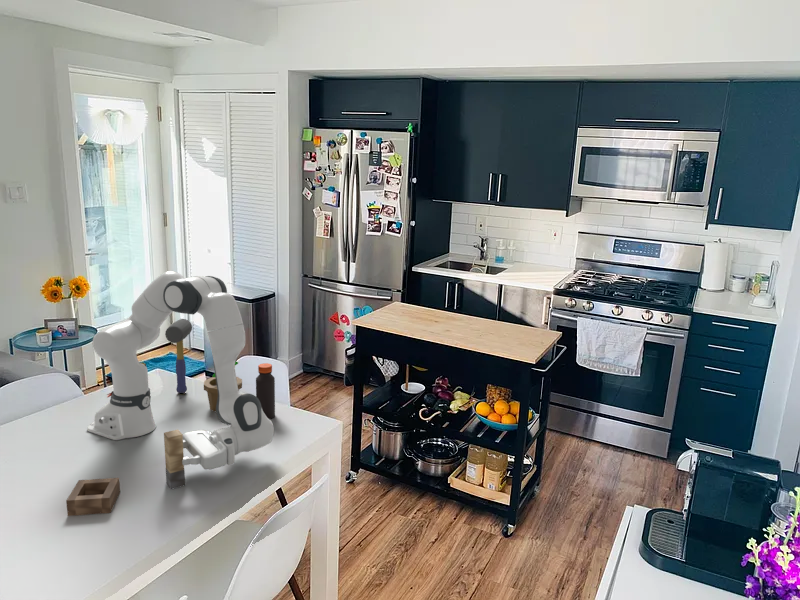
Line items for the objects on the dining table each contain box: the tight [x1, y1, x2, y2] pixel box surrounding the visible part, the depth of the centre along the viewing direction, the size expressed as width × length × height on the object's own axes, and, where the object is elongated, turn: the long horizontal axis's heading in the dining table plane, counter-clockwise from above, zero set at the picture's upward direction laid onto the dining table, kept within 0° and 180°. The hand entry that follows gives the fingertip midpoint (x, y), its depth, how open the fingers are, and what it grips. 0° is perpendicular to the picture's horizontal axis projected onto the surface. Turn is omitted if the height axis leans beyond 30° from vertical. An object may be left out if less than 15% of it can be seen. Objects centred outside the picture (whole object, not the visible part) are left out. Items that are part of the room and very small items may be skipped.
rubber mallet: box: [165, 318, 193, 394], centre depth 240 cm, size 12×8×30 cm, turn 1°
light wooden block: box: [163, 429, 186, 490], centre depth 175 cm, size 4×4×16 cm
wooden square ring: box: [65, 477, 121, 517], centre depth 165 cm, size 10×10×4 cm
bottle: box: [255, 362, 276, 420], centre depth 223 cm, size 7×7×20 cm
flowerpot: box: [203, 360, 243, 412], centre depth 229 cm, size 14×14×30 cm
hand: (176, 455), depth 175 cm, fingers open, 8 cm apart
